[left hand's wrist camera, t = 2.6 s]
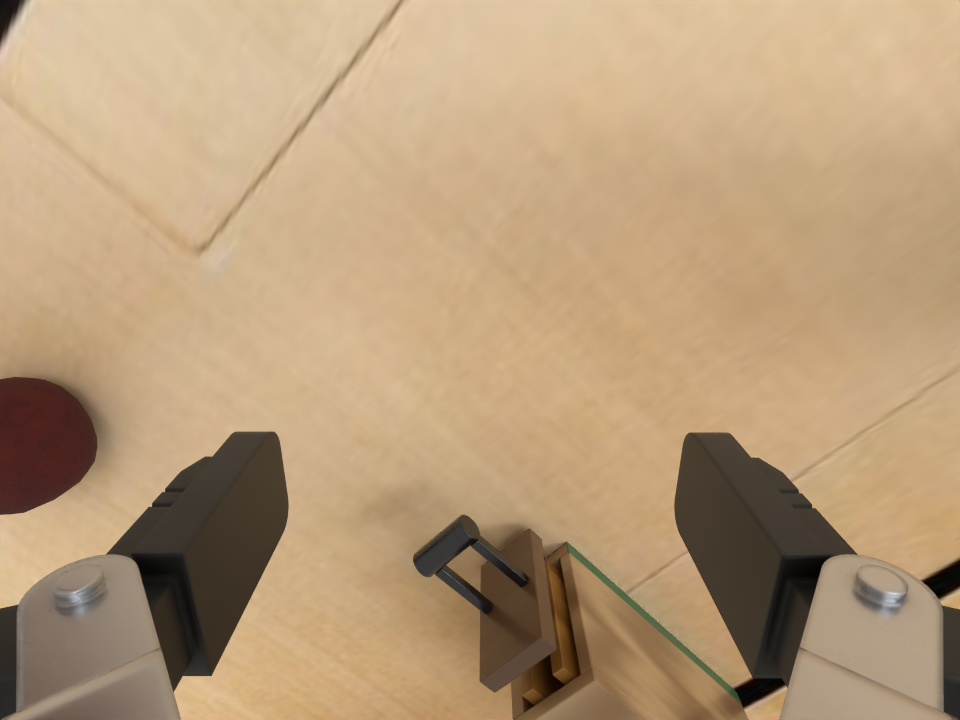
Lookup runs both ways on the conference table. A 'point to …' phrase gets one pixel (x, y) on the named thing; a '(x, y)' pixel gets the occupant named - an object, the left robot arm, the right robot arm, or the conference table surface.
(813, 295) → the conference table surface
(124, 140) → the conference table surface
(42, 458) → the potato
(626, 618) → the cabinet
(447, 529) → the drawer
